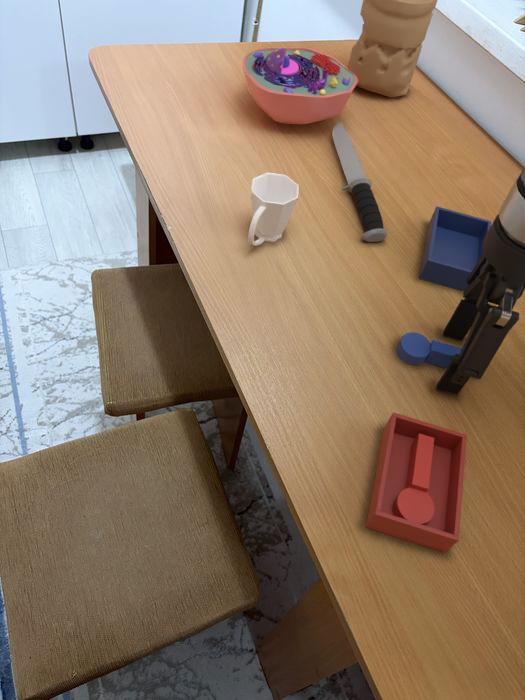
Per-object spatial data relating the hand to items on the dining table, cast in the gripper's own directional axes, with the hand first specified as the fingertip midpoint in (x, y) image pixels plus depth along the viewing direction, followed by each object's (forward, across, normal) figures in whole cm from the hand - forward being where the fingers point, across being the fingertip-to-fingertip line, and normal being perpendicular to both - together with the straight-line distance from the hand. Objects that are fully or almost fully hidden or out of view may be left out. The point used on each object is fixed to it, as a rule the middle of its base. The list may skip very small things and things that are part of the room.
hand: (449, 361), depth 76 cm
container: (0, +64, +20) cm, 67 cm away
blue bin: (0, +20, +1) cm, 20 cm away
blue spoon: (0, 0, +2) cm, 2 cm away
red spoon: (0, -19, +3) cm, 19 cm away
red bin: (0, -19, +2) cm, 19 cm away
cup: (0, +13, +29) cm, 32 cm away
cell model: (0, +46, +33) cm, 57 cm away
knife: (0, +32, +19) cm, 37 cm away
